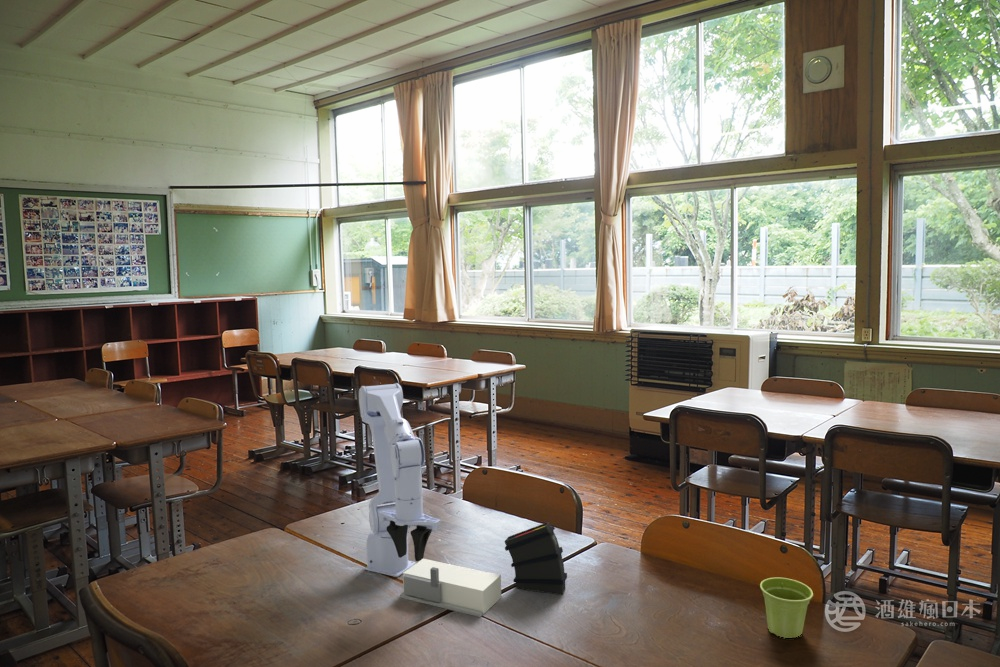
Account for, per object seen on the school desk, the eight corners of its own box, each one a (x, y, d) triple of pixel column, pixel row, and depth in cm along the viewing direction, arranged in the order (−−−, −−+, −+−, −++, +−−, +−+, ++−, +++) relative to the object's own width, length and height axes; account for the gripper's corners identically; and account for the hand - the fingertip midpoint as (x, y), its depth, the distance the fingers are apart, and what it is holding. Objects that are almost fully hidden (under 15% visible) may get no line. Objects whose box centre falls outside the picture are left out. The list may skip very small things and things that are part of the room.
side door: (402, 594, 148) (401, 562, 148) (406, 592, 149) (405, 560, 149) (438, 603, 144) (437, 570, 143) (441, 600, 145) (440, 568, 145)
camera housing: (399, 597, 149) (399, 575, 149) (423, 579, 157) (423, 558, 157) (480, 617, 140) (479, 593, 139) (501, 597, 148) (500, 575, 148)
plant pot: (806, 621, 136) (807, 579, 135) (816, 647, 127) (818, 602, 126) (756, 616, 138) (756, 575, 137) (763, 642, 129) (763, 597, 128)
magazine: (576, 591, 147) (546, 526, 148) (524, 607, 151) (495, 545, 152) (580, 583, 150) (551, 520, 151) (529, 600, 155) (501, 539, 156)
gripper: (369, 497, 146) (372, 558, 147) (427, 506, 139) (429, 571, 140) (389, 487, 152) (391, 546, 153) (445, 496, 145) (447, 557, 146)
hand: (410, 557), depth 147 cm, fingers open, 4 cm apart
